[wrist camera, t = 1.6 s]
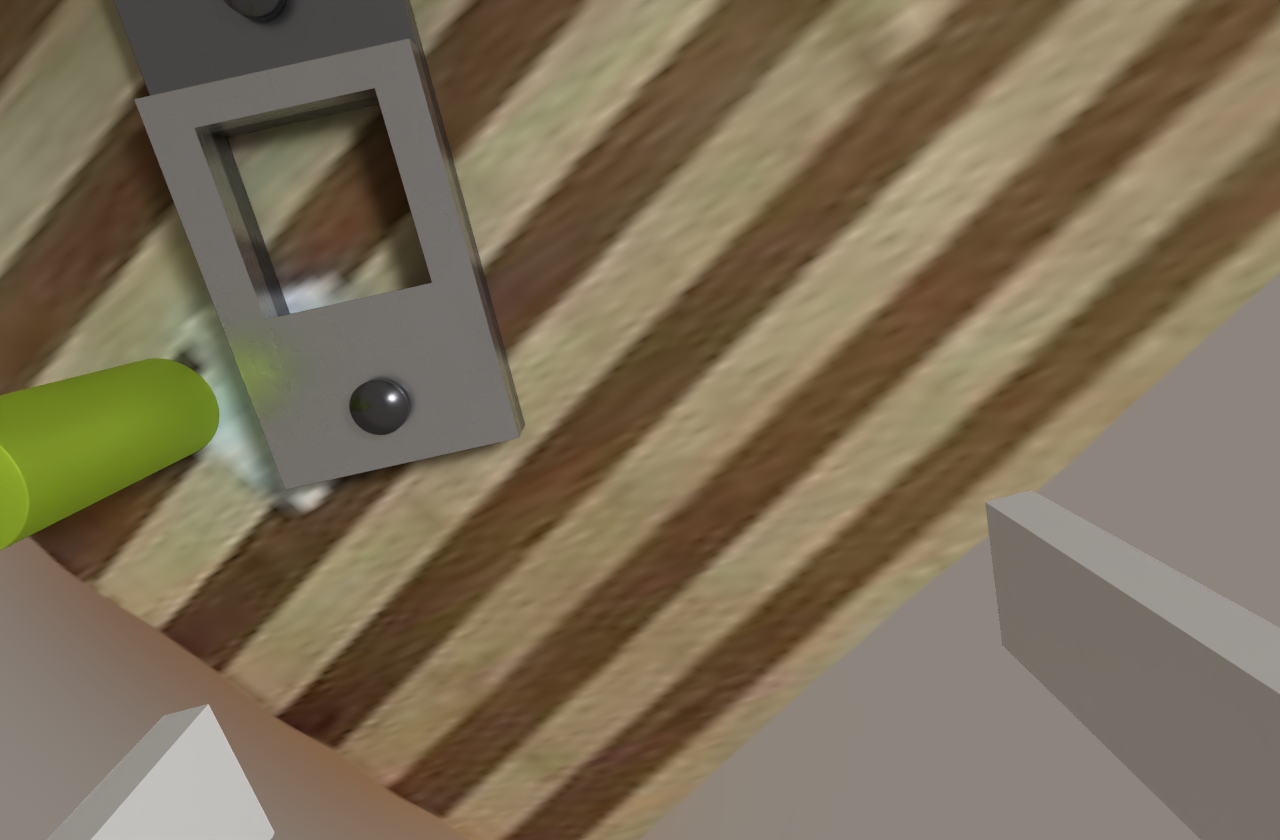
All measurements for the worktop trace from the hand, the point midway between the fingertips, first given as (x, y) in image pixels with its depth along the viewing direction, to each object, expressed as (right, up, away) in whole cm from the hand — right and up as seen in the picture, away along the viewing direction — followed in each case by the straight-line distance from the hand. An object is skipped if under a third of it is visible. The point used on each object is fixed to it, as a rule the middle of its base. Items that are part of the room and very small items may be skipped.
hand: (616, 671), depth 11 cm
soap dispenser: (-28, +5, +27) cm, 39 cm away
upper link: (-15, +12, +26) cm, 32 cm away
